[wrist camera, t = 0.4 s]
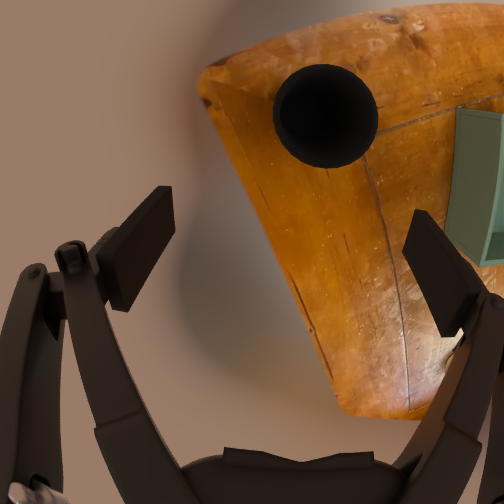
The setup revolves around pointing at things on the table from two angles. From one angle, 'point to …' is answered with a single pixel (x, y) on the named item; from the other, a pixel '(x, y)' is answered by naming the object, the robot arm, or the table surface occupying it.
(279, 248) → the table surface
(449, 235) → the open storage box
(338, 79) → the cup
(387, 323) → the table surface
